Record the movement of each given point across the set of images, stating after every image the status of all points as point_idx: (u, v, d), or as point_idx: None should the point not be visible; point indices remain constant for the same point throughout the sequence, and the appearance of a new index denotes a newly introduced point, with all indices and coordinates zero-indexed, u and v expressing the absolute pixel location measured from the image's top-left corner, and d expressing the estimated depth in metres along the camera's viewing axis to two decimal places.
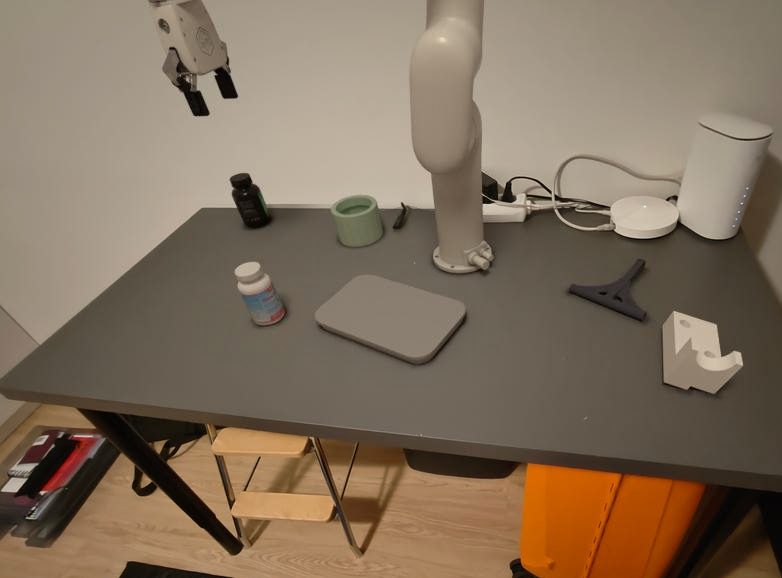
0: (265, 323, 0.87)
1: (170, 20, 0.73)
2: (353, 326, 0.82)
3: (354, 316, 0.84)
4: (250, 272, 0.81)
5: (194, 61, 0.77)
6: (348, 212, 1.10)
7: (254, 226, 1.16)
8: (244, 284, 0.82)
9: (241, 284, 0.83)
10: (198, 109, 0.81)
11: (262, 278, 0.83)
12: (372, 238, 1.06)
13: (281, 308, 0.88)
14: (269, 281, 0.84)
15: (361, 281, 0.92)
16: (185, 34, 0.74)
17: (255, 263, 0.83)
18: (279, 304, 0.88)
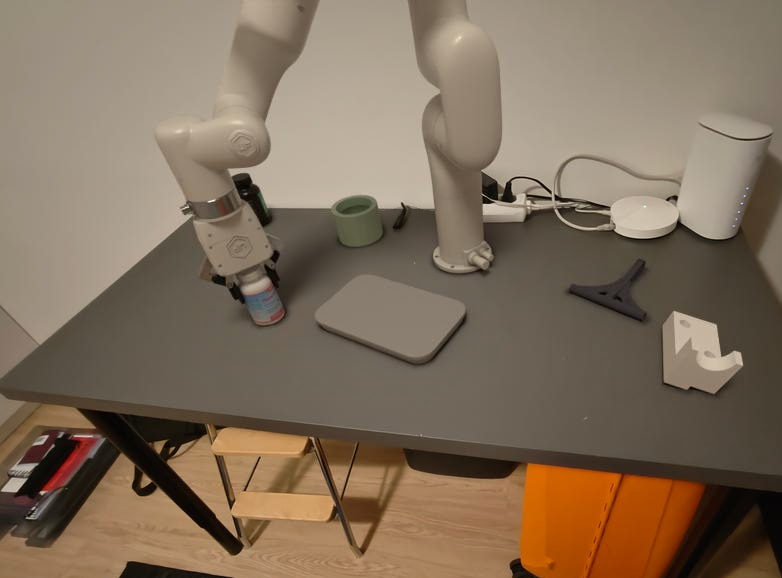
0: (265, 323, 0.87)
1: (199, 235, 0.73)
2: (353, 326, 0.82)
3: (354, 316, 0.84)
4: (250, 272, 0.81)
5: (219, 267, 0.76)
6: (348, 212, 1.10)
7: None
8: (244, 284, 0.82)
9: (241, 284, 0.83)
10: (234, 298, 0.83)
11: (262, 278, 0.83)
12: (372, 238, 1.06)
13: (281, 308, 0.88)
14: (269, 281, 0.84)
15: (361, 281, 0.92)
16: (212, 246, 0.74)
17: None
18: (279, 304, 0.88)
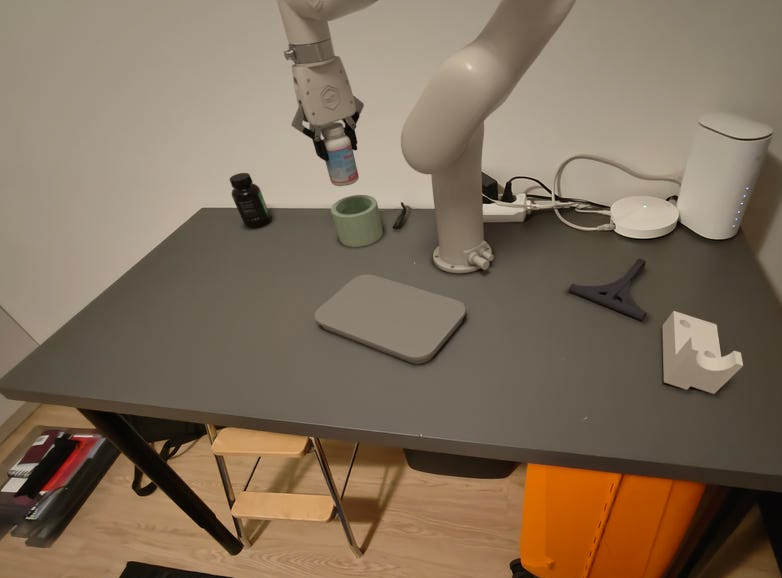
0: (343, 183, 0.97)
1: (299, 80, 0.82)
2: (353, 326, 0.82)
3: (354, 316, 0.84)
4: (334, 128, 0.91)
5: (312, 115, 0.86)
6: (348, 212, 1.10)
7: (254, 226, 1.16)
8: (328, 140, 0.92)
9: (325, 141, 0.92)
10: (319, 154, 0.92)
11: (344, 136, 0.93)
12: (372, 238, 1.06)
13: (356, 171, 0.98)
14: (349, 140, 0.93)
15: (361, 281, 0.92)
16: (309, 92, 0.83)
17: (337, 123, 0.93)
18: (355, 166, 0.97)
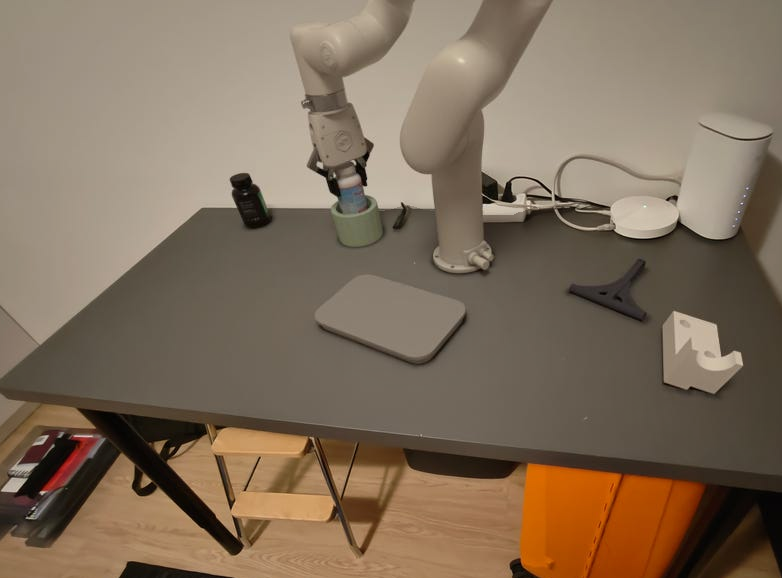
0: None
1: (314, 127, 0.88)
2: (353, 326, 0.82)
3: (354, 316, 0.84)
4: (346, 167, 0.97)
5: (326, 157, 0.92)
6: None
7: (254, 226, 1.16)
8: (341, 178, 0.98)
9: (338, 179, 0.98)
10: (331, 191, 0.99)
11: (355, 174, 0.99)
12: (372, 238, 1.06)
13: (366, 205, 1.04)
14: (360, 178, 1.00)
15: (361, 281, 0.92)
16: (323, 137, 0.89)
17: (349, 162, 0.99)
18: (365, 201, 1.03)
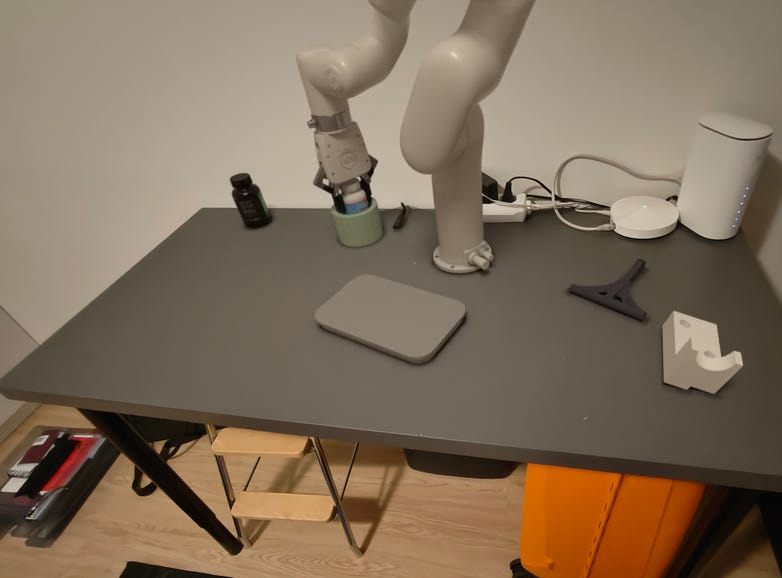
0: None
1: (320, 146, 0.91)
2: (353, 326, 0.82)
3: (354, 316, 0.84)
4: (351, 183, 0.99)
5: (332, 175, 0.94)
6: None
7: (254, 226, 1.16)
8: (346, 194, 1.00)
9: (343, 195, 1.01)
10: (337, 207, 1.01)
11: (360, 190, 1.01)
12: (372, 238, 1.06)
13: None
14: (364, 193, 1.02)
15: (361, 281, 0.92)
16: (329, 156, 0.92)
17: (354, 178, 1.01)
18: None
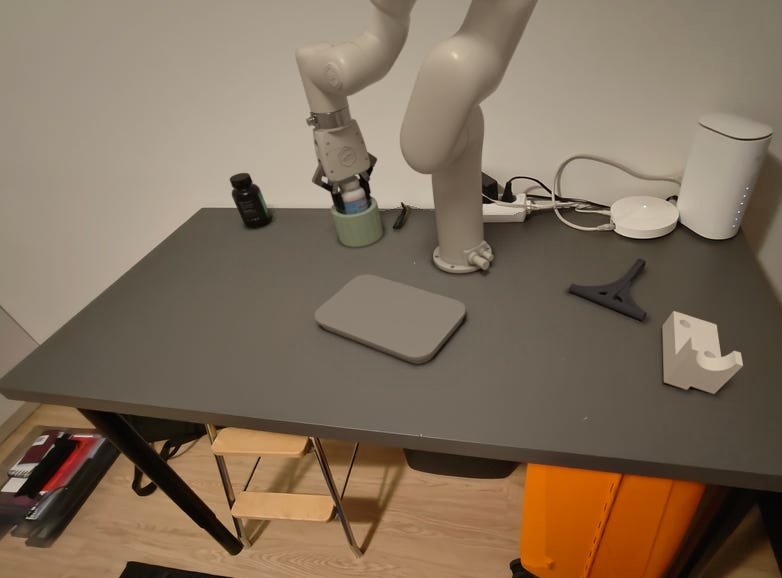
0: None
1: (319, 143, 0.90)
2: (353, 326, 0.82)
3: (354, 316, 0.84)
4: (350, 181, 0.99)
5: (331, 172, 0.94)
6: None
7: (254, 226, 1.16)
8: (345, 192, 1.00)
9: (342, 193, 1.00)
10: (336, 205, 1.01)
11: (359, 188, 1.01)
12: (372, 238, 1.06)
13: None
14: (363, 191, 1.02)
15: (361, 281, 0.92)
16: (328, 153, 0.92)
17: (353, 176, 1.01)
18: None
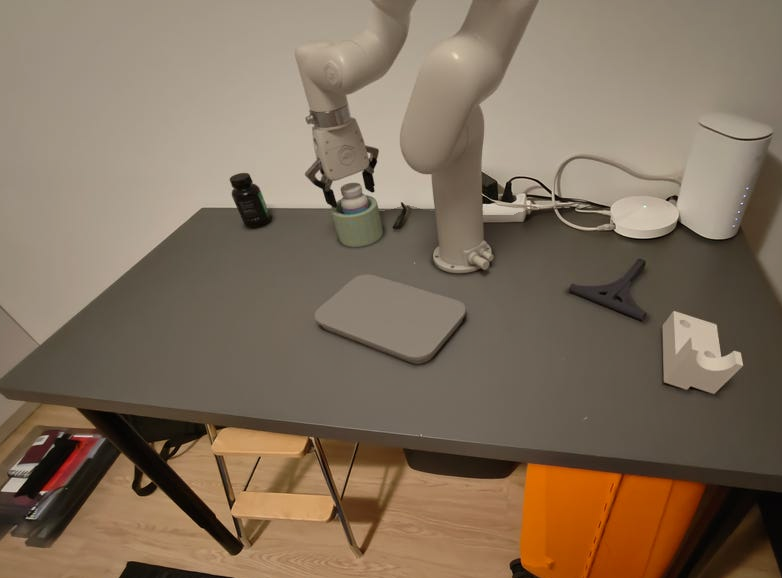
0: None
1: (318, 142, 0.90)
2: (353, 326, 0.82)
3: (354, 316, 0.84)
4: (354, 189, 1.00)
5: (330, 171, 0.94)
6: None
7: (254, 226, 1.16)
8: (348, 200, 1.01)
9: (345, 200, 1.01)
10: (328, 202, 0.99)
11: (361, 195, 1.02)
12: (372, 238, 1.06)
13: None
14: (366, 199, 1.03)
15: (361, 281, 0.92)
16: (327, 152, 0.91)
17: (356, 183, 1.02)
18: None
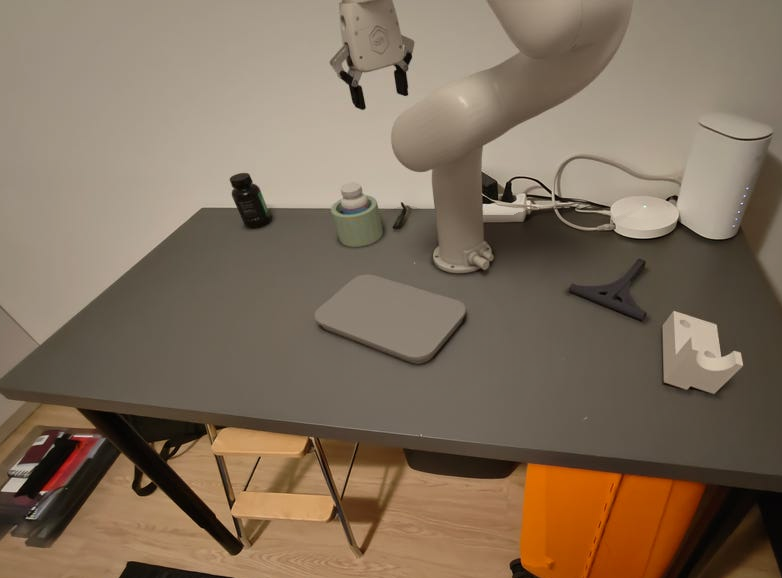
0: None
1: (347, 18, 0.76)
2: (353, 326, 0.82)
3: (354, 316, 0.84)
4: (354, 189, 1.00)
5: (359, 58, 0.79)
6: None
7: (254, 226, 1.16)
8: (348, 200, 1.01)
9: (345, 200, 1.01)
10: (355, 102, 0.85)
11: (361, 195, 1.02)
12: (372, 238, 1.06)
13: None
14: (366, 199, 1.03)
15: (361, 281, 0.92)
16: (357, 32, 0.77)
17: (356, 183, 1.02)
18: None
